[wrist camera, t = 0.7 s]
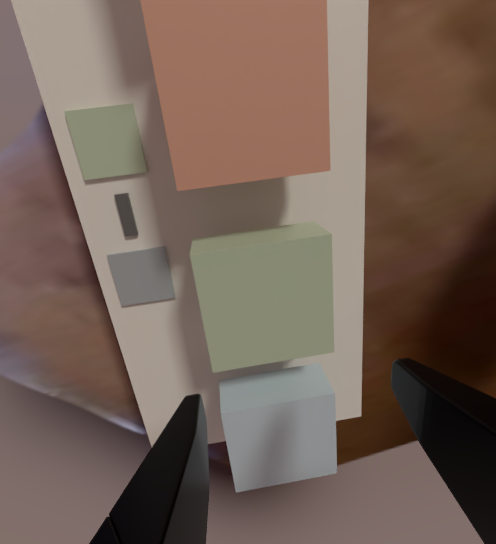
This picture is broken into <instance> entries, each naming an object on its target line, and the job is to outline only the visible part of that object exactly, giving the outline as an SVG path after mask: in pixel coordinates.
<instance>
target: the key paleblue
mask: <svg viewBox="0 0 496 544" xmlns="http://www.w3.org/2000/svg"><path fill="white" fill-rule="evenodd" d="M219 387H220V410H221V418H222V423H223V428H224V433H225V438H226V444H227V449H228V454H229V459H230V464H231V469H232V474H233V479H234V485H235V490H236V493H237V492H242V491H247V490H252V489H257V488H262V487H268V486H273V485H278V484H283V483H288V482H294V481H299V480H304V479H309V478H314V477H319V476H325V475H330V474H335V473H337V454H336V407H335V392H334V390H333V388H332V386H331V384H330V382H329V380H328V378H327V376H326V374H325V372H324V370H323V369H322V367H321V365H320V363H315V364H309V365H303V366H297V367H291V368H286V369H280V370H274V371H268V372H262V373H256V374H251V375H245V376H239V377H233V378H227V379H221V380H219Z"/></svg>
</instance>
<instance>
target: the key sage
mask: <svg viewBox="0 0 496 544" xmlns="http://www.w3.org/2000/svg"><path fill="white" fill-rule="evenodd" d="M190 259H191V264H192V269H193V274H194V279H195V284H196V289H197V295H198V300H199V305H200V310H201V315H202V320H203V325H204V331H205V336H206V341H207V346H208V351H209V356H210V361H211V367H212V372H213V373H215V372H221V371H227V370H233V369H238V368H244V367H250V366H256V365H262V364H268V363H274V362H280V361H286V360H291V359H297V358H303V357H309V356H315V355H321V354H327V353H333V352H334V312H333V265H332V234H331V233H330V232H328V231H327V230H325V229H324V228H323V227H321V226H320V225H318V224H317V223H315V222H314V221H311V222H304V223H297V224H290V225H283V226H276V227H269V228H262V229H255V230H248V231H241V232H234V233H228V234H221V235H214V236H207V237H200V238H193V240H192V245H191V251H190Z"/></svg>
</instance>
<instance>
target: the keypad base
mask: <svg viewBox="0 0 496 544" xmlns="http://www.w3.org/2000/svg"><path fill="white" fill-rule="evenodd" d="M11 2H12V6H13V9H14V12H15V15H16V18H17V22H18V25H19V28H20V31H21V34H22V37H23V41H24V44H25V47H26V50H27V53H28V56H29V60H30V63H31V66H32V69H33V72H34V75H35V79H36V82H37V85H38V88H39V91H40V94H41V98H42V101H43V104H44V107H45V110H46V114H47V117H48V120H49V123H50V126H51V129H52V133H53V136H54V139H55V142H56V145H57V149H58V152H59V155H60V158H61V161H62V164H63V168H64V171H65V174H66V177H67V180H68V183H69V187H70V190H71V193H72V196H73V199H74V203H75V206H76V209H77V212H78V215H79V218H80V222H81V225H82V228H83V231H84V234H85V237H86V241H87V244H88V247H89V250H90V253H91V257H92V260H93V263H94V266H95V269H96V272H97V276H98V279H99V282H100V285H101V288H102V291H103V295H104V298H105V301H106V304H107V307H108V311H109V314H110V317H111V320H112V323H113V326H114V330H115V333H116V336H117V339H118V342H119V345H120V349H121V352H122V355H123V358H124V361H125V364H126V368H127V371H128V374H129V377H130V380H131V384H132V387H133V390H134V393H135V396H136V399H137V403H138V406H139V409H140V412H141V415H142V418H143V422H144V425H145V428H146V431H147V434H148V438H149V441H150V444H151V447H153V445H154V443H155V442H156V440H157V439H158V437H159V436H160V434H161V433H162V431H163V430H164V428H165V426H166V425H167V423H168V422H169V420H170V419H171V417H172V416H173V414H174V412H175V411H176V409H177V408H178V406H179V405H180V403H181V402H182V400H183V399H184V397H185V396H187V395H192V394H200V395H201V397H202V401H203V405H204V410H205V415H206V421H207V438H208V444H212V443H218V442H223V441H226V438H225V433H224V428H223V423H222V418H221V410H220V387H219V380H221V379H227V378H233V377H239V376H245V375H251V374H256V373H262V372H268V371H274V370H280V369H286V368H291V367H297V366H303V365H309V364H315V363H320V365H321V367H322V369H323V370H324V372H325V374H326V376H327V378H328V380H329V382H330V384H331V386H332V388H333V390H334V392H335V407H336V421H338V420H343V419H349V418H354V417H360V416H361V396H362V338H363V280H364V222H365V165H366V107H367V49H368V0H327V30H328V77H329V124H330V171H325V172H317V173H310V174H302V175H295V176H287V177H280V178H273V179H265V180H258V181H250V182H243V183H235V184H228V185H220V186H213V187H205V188H198V189H190V190H183V191H177V187H176V182H175V176H174V171H173V166H172V161H171V156H170V151H169V146H168V141H167V135H166V130H165V125H164V120H163V115H162V110H161V105H160V99H159V94H158V89H157V84H156V79H155V74H154V69H153V63H152V58H151V53H150V48H149V43H148V38H147V33H146V28H145V22H144V17H143V12H142V7H141V2H140V0H11ZM311 221H314V222H315V223H317V224H318V225H320V226H321V227H323V228H324V229H325V230H327V231H328V232H330V233H331V234H332V265H333V312H334V352H333V353H327V354H321V355H315V356H309V357H303V358H297V359H291V360H286V361H280V362H274V363H268V364H262V365H256V366H250V367H244V368H238V369H233V370H227V371H221V372H215V373H213V372H212V367H211V361H210V356H209V351H208V346H207V341H206V336H205V331H204V325H203V320H202V315H201V310H200V305H199V300H198V295H197V289H196V284H195V279H194V274H193V269H192V264H191V259H190V251H191V245H192V240H193V238H200V237H207V236H214V235H221V234H228V233H234V232H241V231H248V230H255V229H262V228H269V227H276V226H283V225H290V224H297V223H304V222H311Z"/></svg>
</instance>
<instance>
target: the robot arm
mask: <svg viewBox="0 0 496 544" xmlns="http://www.w3.org/2000/svg"><path fill="white" fill-rule="evenodd" d="M391 386H392V390H393V392H394V394H395V396H396V398H397V400H398V402H399V404H400V406H401V408H402V410H403V412H404V414H405V416H406V418H407V420H408V422H409V424H410V426H411V427H412V429H413V431H414V433H415V435H416V437H417V439H418V441H419V443H420V444H421V446H422V448H423V449H424V451H425V452H426V454H427V456H428V457H429V458H430V460H431V462H432V463H433V465H434V466H435V468H436V469H437V471H438V472H439V474H440V476H441V477H442V479H443V480H444V482H445V483H446V485H447V486H448V488H449V489H450V491H451V493H452V494H453V496H454V497H455V499H456V500H457V502H458V503H459V505H460V507H461V508H462V510H463V511H464V513H465V514H466V516H467V517H468V519H469V521H470V522H471V524H472V525H473V527H474V528H475V530H476V531H477V533H478V534H479V536H480V537H481V539H482V541H483V542H484V544H496V398H494V397H491V396H489V395H487V394H485V393H483V392H481V391H479V390H476V389H474V388H472V387H470V386H468V385H466V384H464V383H461V382H459V381H457V380H455V379H453V378H451V377H448V376H446V375H444V374H442V373H440V372H438V371H436V370H433V369H431V368H429V367H427V366H425V365H423V364H421V363H418V362H416V361H414V360H412V359H410V358H403V359H398V360H395V361H393V364H392V378H391ZM208 501H209V459H208V438H207V421H206V415H205V410H204V405H203V401H202V397H201V395H200V394H192V395H187V396H185V397H184V399H183V400H182V402H181V403H180V405H179V406H178V408H177V409H176V411H175V412H174V414H173V416H172V417H171V419H170V420H169V422H168V423H167V425H166V426H165V428H164V430H163V431H162V433H161V434H160V436H159V437H158V439H157V440H156V442H155V443H154V445H153V447H152V448H151V450H150V451H149V453H148V454H147V456H146V457H145V459H144V461H143V462H142V464H141V465H140V467H139V468H138V470H137V471H136V473H135V475H134V476H133V478H132V479H131V481H130V482H129V484H128V485H127V487H126V488H125V490H124V491H123V493H122V495H121V496H120V498H119V499H118V501H117V502H116V504H115V505H114V507H113V508H112V510H111V512H110V513H109V516H110V517H107V518H106V519H105V521H104V522H103V524H102V525H101V527H100V528H99V530H98V531H97V533H96V534H95V536H94V537H93V539H92V540H91V542H90V543H89V544H206V532H207V516H208Z"/></svg>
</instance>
